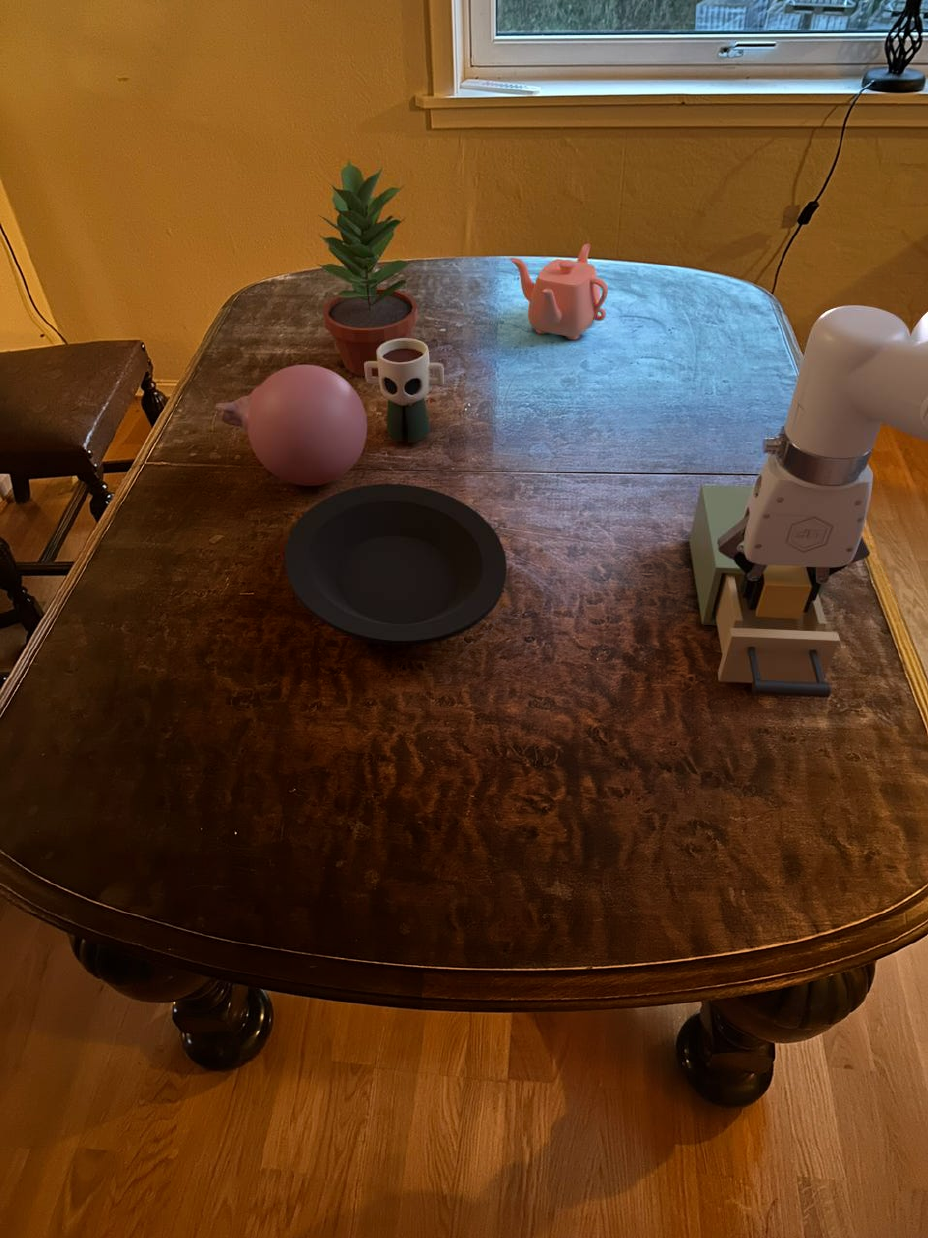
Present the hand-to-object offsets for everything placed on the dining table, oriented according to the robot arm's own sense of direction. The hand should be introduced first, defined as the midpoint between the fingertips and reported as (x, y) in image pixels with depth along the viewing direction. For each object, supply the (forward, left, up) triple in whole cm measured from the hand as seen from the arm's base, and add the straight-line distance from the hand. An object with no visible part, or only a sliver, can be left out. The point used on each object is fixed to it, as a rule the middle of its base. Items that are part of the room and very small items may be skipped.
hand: (775, 600), depth 90 cm
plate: (+31, -26, -8) cm, 42 cm away
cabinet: (-6, -9, -8) cm, 13 cm away
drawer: (+1, +1, -7) cm, 7 cm away
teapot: (-18, -75, -8) cm, 78 cm away
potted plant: (+14, -78, -8) cm, 80 cm away
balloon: (+34, -54, -8) cm, 65 cm away
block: (0, 0, 0) cm, 0 cm away
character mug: (+17, -56, -8) cm, 60 cm away
